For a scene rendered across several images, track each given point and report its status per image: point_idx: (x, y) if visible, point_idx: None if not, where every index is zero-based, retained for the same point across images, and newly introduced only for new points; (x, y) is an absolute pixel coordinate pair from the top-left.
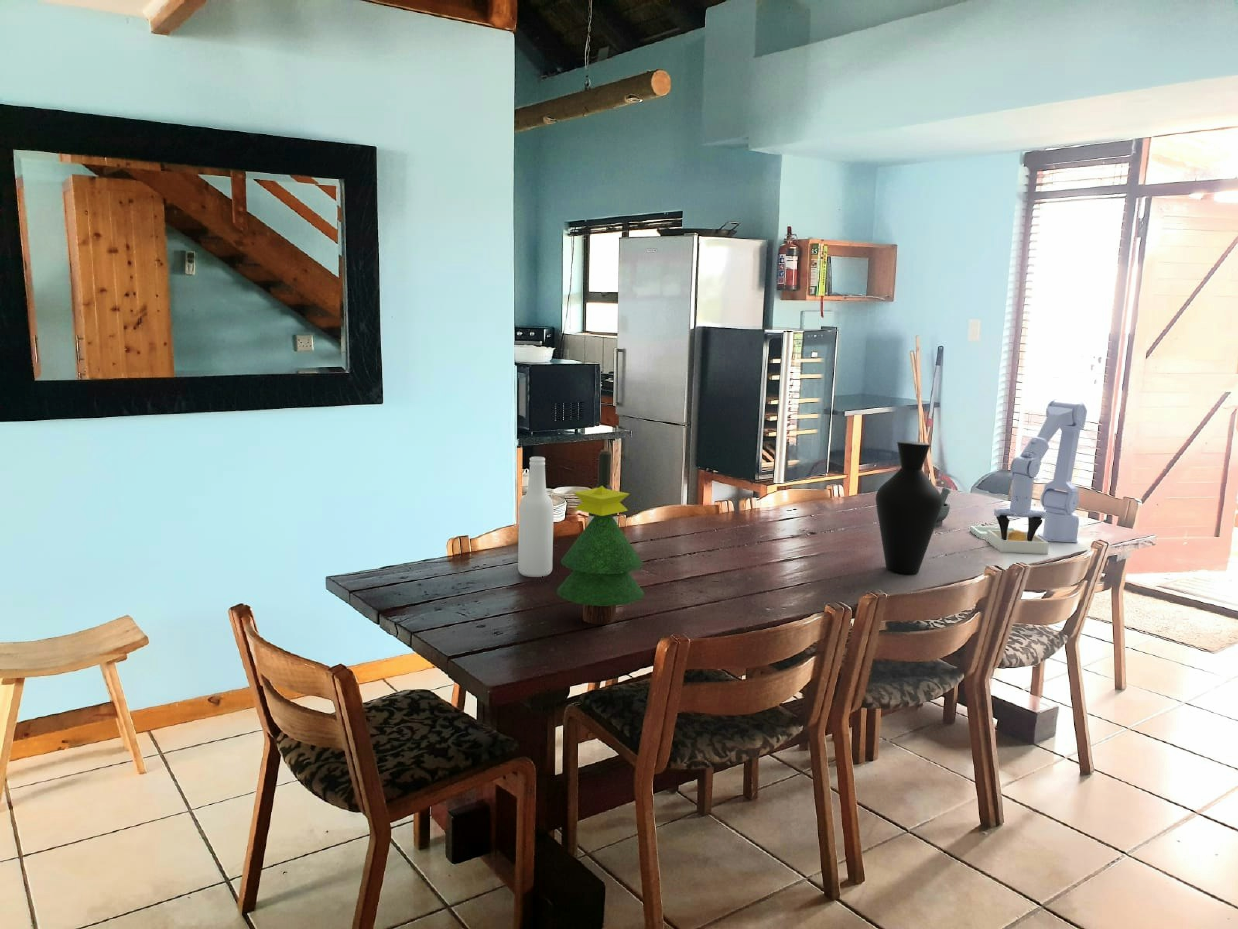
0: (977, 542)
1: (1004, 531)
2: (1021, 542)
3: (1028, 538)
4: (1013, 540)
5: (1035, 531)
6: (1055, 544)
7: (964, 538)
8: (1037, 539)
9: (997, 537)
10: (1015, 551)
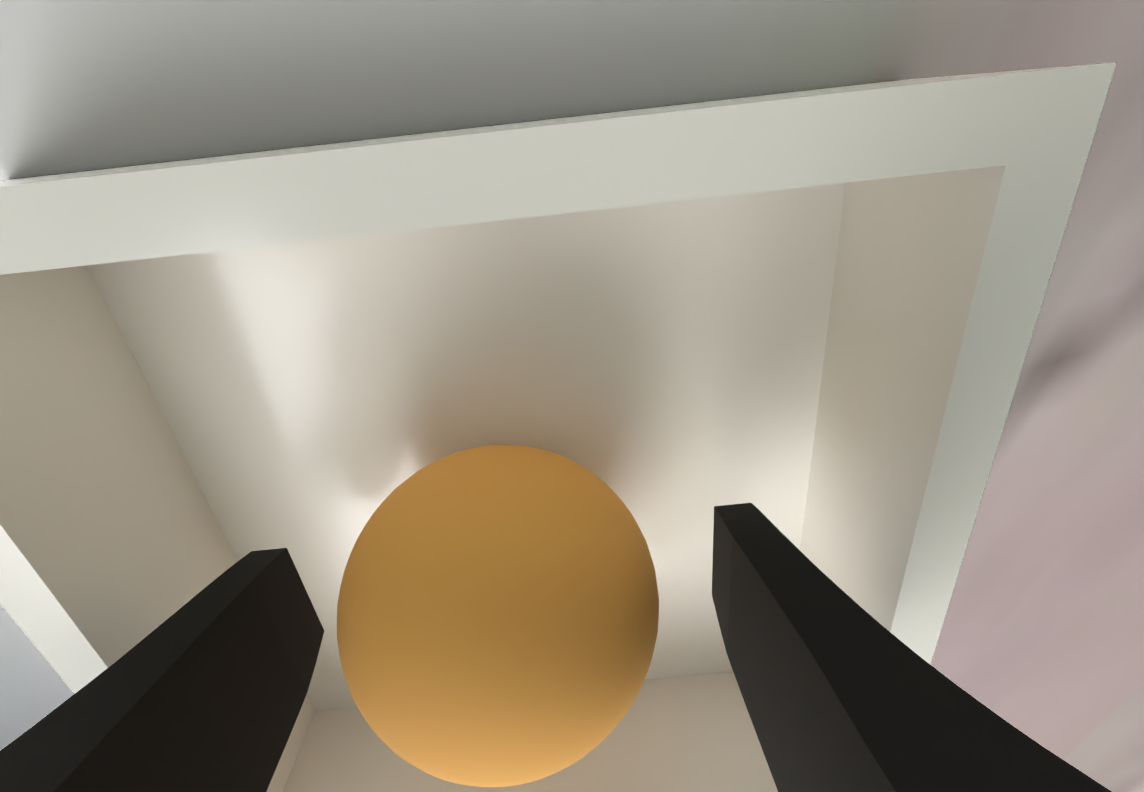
0: (959, 590)
1: (871, 625)
2: (506, 135)
3: (291, 630)
4: (594, 490)
5: (22, 742)
6: (16, 736)
7: (1016, 698)
8: (129, 624)
9: (997, 437)
10: (622, 111)
